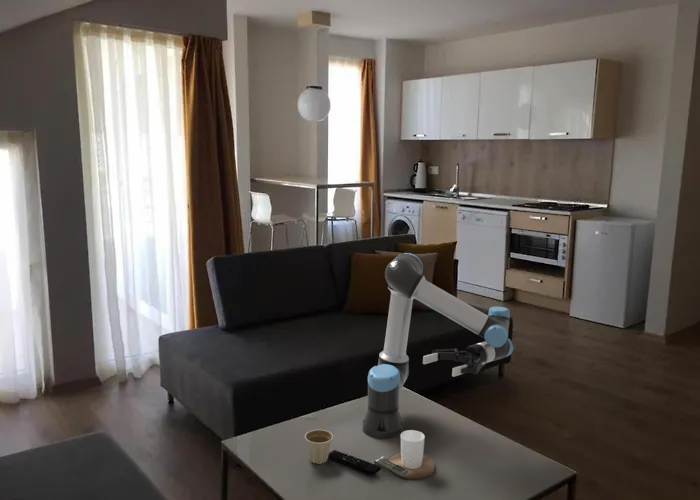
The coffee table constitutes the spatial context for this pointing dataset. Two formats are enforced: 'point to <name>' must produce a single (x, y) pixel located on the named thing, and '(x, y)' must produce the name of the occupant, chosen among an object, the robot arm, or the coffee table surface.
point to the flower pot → (318, 445)
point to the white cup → (412, 448)
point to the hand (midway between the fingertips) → (437, 366)
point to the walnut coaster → (417, 473)
